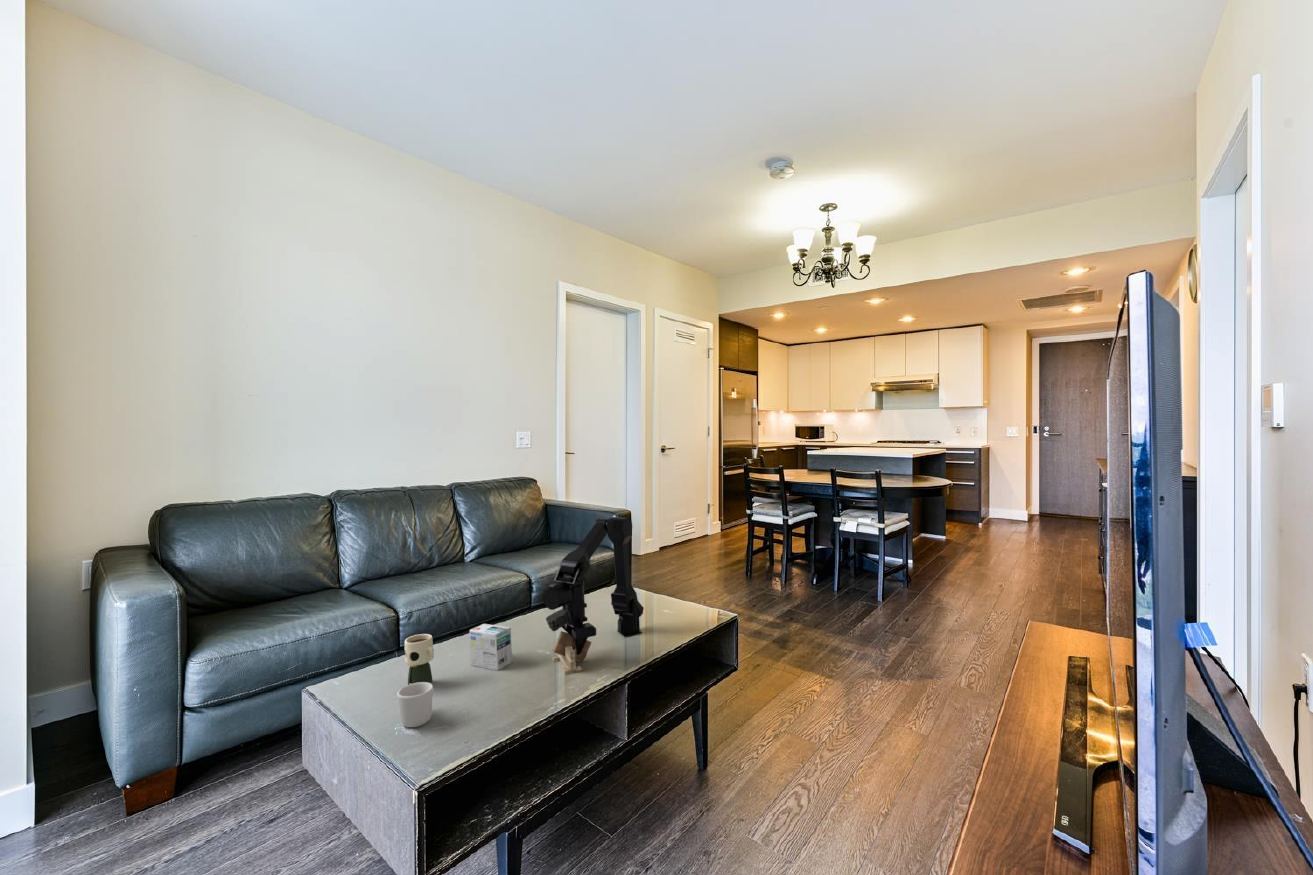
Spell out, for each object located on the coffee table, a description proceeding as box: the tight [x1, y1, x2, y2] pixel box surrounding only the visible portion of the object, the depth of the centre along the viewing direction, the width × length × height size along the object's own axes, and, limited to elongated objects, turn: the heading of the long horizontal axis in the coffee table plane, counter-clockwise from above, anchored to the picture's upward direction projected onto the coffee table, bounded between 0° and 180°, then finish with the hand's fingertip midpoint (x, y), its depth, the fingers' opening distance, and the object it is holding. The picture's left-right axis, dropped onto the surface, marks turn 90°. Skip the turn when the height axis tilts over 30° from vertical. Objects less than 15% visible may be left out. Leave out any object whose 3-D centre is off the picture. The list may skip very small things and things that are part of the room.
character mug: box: [404, 633, 435, 685], centre depth 152 cm, size 11×7×13 cm, turn 63°
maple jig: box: [551, 638, 582, 675], centre depth 162 cm, size 5×12×6 cm, turn 28°
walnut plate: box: [552, 630, 592, 663], centre depth 163 cm, size 10×1×6 cm, turn 118°
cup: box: [396, 682, 434, 728], centre depth 133 cm, size 11×8×8 cm
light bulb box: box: [469, 623, 513, 671], centre depth 165 cm, size 11×7×11 cm, turn 65°
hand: (576, 652), depth 164 cm, fingers open, 3 cm apart
